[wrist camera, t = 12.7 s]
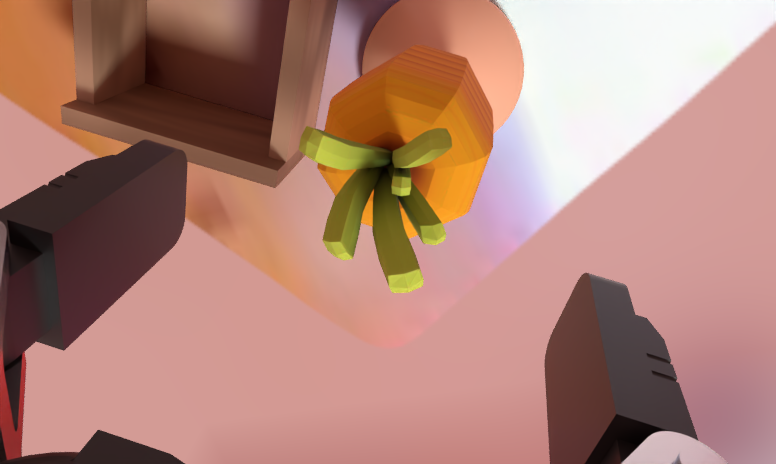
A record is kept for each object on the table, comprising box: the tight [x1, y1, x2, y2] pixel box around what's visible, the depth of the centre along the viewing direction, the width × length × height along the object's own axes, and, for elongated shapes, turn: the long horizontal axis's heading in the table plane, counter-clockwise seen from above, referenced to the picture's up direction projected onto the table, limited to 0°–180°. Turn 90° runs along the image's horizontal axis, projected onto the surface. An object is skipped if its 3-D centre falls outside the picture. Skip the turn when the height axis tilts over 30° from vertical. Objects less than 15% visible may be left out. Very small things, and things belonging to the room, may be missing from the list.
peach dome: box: [362, 0, 524, 134], centre depth 25 cm, size 7×7×1 cm
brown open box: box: [61, 0, 338, 188], centre depth 24 cm, size 10×10×5 cm
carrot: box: [299, 45, 494, 293], centre depth 18 cm, size 5×5×15 cm
